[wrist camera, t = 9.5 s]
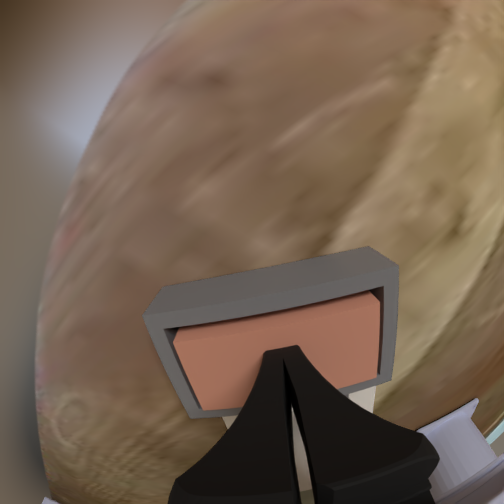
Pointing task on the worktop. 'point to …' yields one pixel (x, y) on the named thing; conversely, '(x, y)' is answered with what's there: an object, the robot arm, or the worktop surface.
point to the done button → (281, 346)
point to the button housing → (274, 307)
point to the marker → (302, 466)
